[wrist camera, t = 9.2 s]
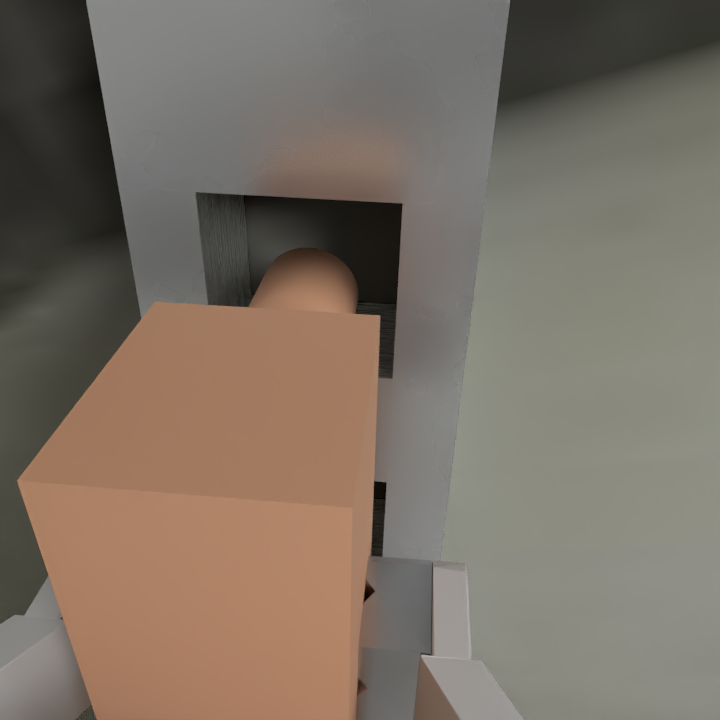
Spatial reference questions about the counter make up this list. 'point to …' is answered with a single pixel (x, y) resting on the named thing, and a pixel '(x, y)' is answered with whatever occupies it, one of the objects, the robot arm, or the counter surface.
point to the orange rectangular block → (220, 505)
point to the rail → (318, 179)
